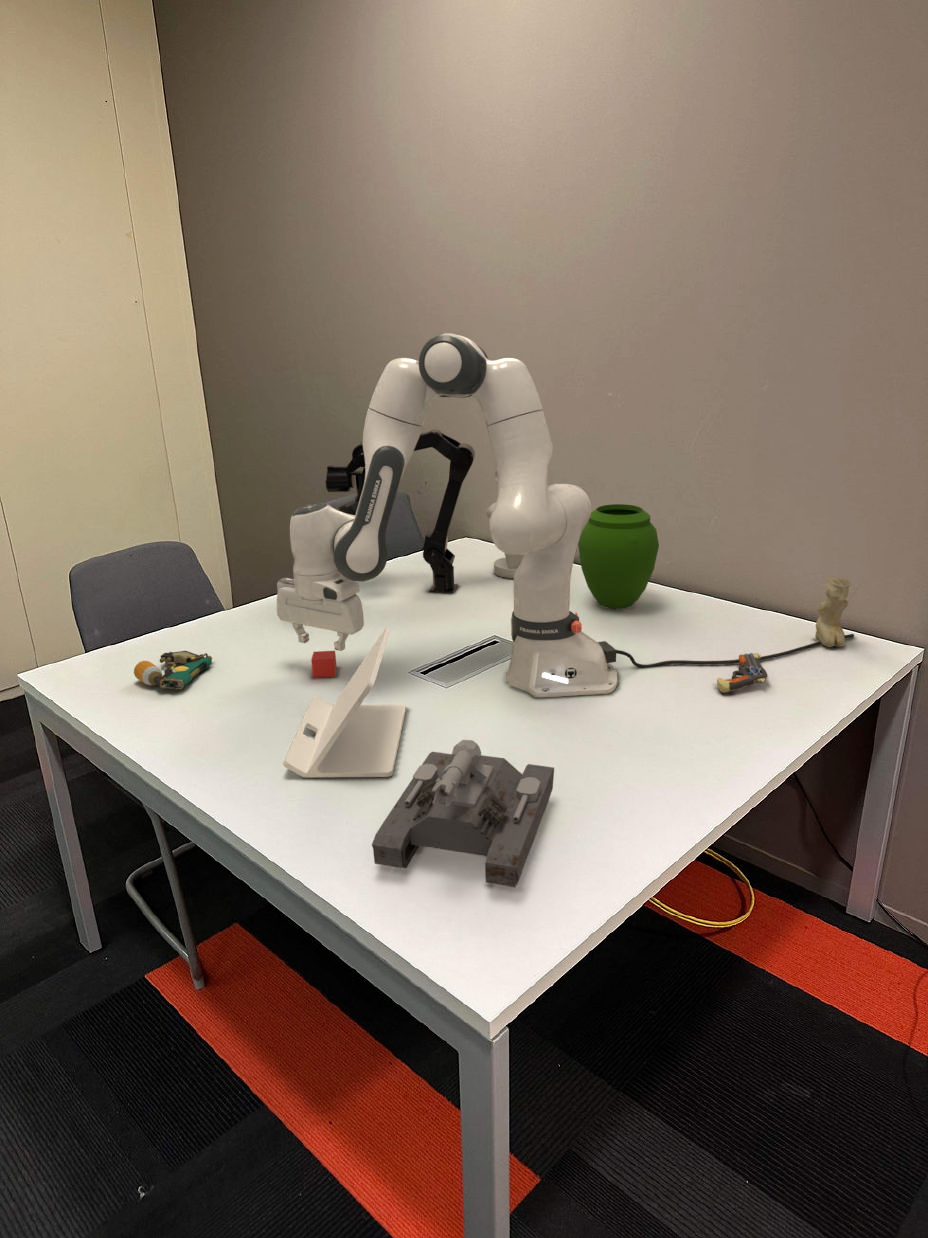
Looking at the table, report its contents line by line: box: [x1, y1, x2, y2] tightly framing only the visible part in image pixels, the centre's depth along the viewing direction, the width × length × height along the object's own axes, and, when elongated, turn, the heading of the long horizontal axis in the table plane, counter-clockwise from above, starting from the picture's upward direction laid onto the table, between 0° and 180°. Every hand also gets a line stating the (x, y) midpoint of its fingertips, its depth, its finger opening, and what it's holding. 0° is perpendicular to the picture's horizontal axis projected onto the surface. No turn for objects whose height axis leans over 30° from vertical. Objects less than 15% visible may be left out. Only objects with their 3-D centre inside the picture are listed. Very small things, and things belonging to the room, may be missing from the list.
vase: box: [577, 503, 660, 610], centre depth 210 cm, size 20×20×24 cm
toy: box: [371, 739, 555, 888], centre depth 122 cm, size 25×20×15 cm
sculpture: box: [814, 576, 852, 648], centre depth 185 cm, size 6×7×15 cm
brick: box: [310, 650, 338, 679], centre depth 180 cm, size 5×4×4 cm
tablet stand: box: [282, 626, 407, 778], centre depth 149 cm, size 18×25×17 cm
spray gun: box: [133, 650, 213, 690], centre depth 180 cm, size 4×17×15 cm
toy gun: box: [716, 652, 770, 693], centre depth 172 cm, size 3×19×10 cm
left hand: (371, 549), depth 227 cm, fingers open, 9 cm apart
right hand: (321, 645), depth 178 cm, fingers open, 8 cm apart
